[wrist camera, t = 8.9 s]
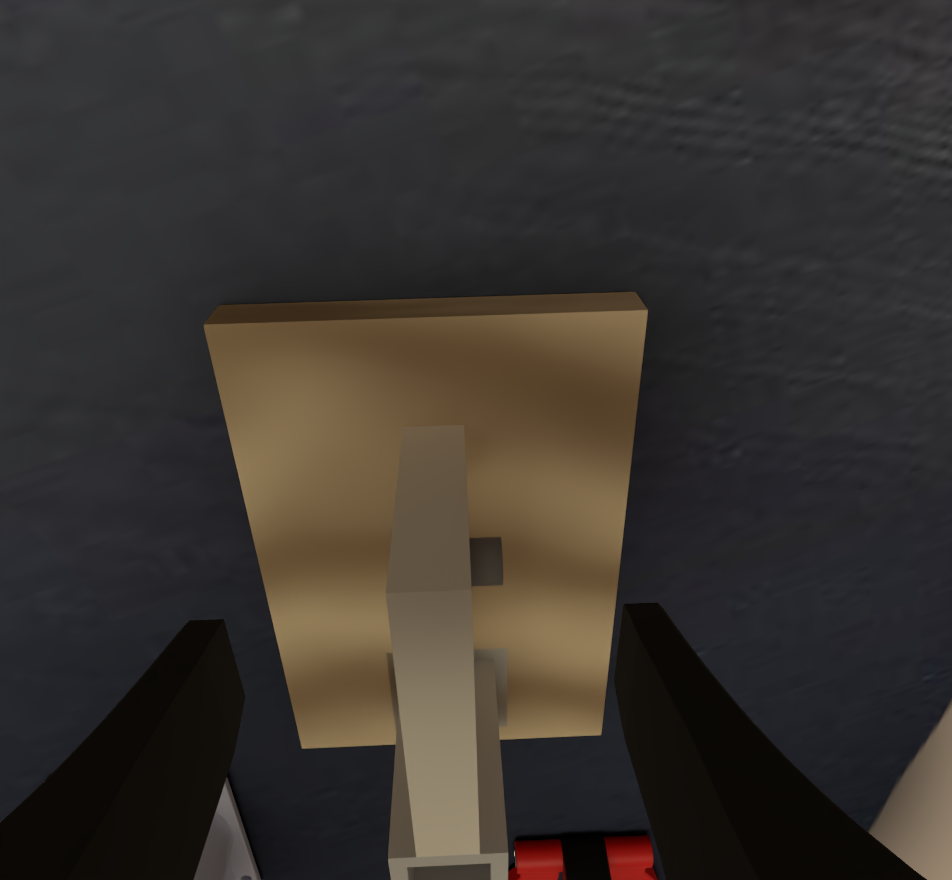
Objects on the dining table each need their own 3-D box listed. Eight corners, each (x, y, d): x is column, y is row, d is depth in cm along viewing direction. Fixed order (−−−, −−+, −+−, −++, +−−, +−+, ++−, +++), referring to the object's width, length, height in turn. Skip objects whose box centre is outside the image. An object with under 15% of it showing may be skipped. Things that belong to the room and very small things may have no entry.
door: (494, 719, 28) (507, 914, 22) (407, 723, 28) (397, 919, 22) (490, 423, 21) (509, 588, 15) (375, 428, 21) (347, 594, 15)
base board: (594, 704, 30) (617, 811, 26) (308, 716, 29) (286, 827, 25) (635, 291, 20) (681, 358, 16) (219, 304, 20) (162, 376, 16)
